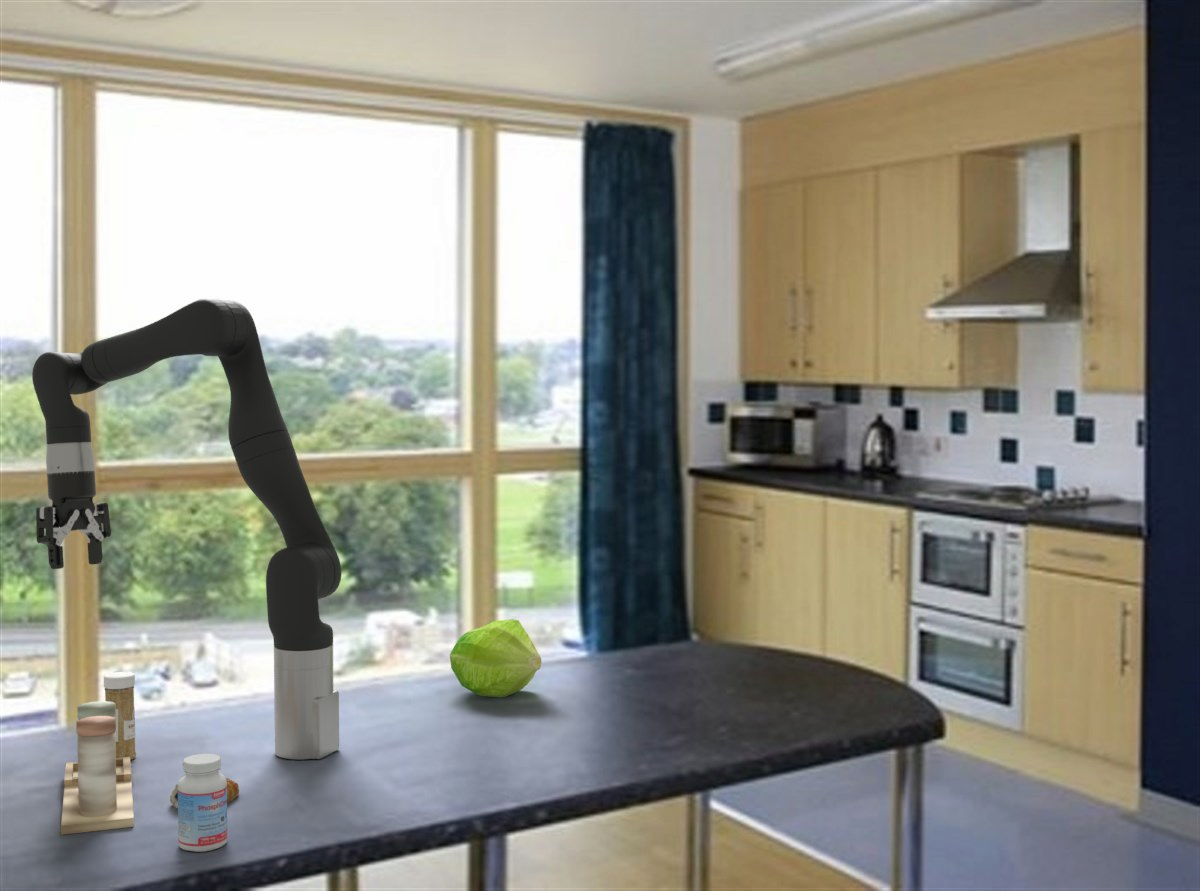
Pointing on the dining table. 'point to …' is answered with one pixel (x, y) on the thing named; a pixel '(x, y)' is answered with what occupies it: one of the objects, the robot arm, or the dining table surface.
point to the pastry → (231, 792)
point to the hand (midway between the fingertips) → (76, 566)
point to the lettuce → (495, 659)
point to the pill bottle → (202, 804)
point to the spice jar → (122, 710)
